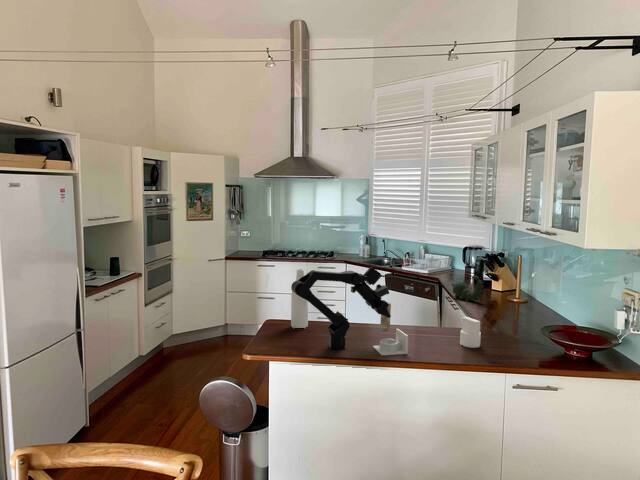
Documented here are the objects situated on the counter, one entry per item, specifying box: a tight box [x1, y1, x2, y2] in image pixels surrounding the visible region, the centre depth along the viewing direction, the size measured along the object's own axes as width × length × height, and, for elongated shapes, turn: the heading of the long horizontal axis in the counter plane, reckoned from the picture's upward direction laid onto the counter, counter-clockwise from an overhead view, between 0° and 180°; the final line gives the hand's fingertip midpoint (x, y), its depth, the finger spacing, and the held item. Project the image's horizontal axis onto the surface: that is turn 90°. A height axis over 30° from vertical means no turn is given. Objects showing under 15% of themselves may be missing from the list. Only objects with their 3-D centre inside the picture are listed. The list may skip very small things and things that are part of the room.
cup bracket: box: [372, 328, 409, 356], centre depth 200 cm, size 12×11×8 cm
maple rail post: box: [379, 301, 392, 332], centre depth 207 cm, size 4×4×12 cm
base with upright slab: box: [459, 316, 482, 349], centre depth 210 cm, size 9×9×12 cm
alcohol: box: [290, 268, 309, 329], centre depth 233 cm, size 9×9×30 cm
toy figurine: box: [450, 275, 485, 302], centre depth 304 cm, size 9×19×25 cm
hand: (388, 315), depth 208 cm, fingers closed on maple rail post, 4 cm apart
